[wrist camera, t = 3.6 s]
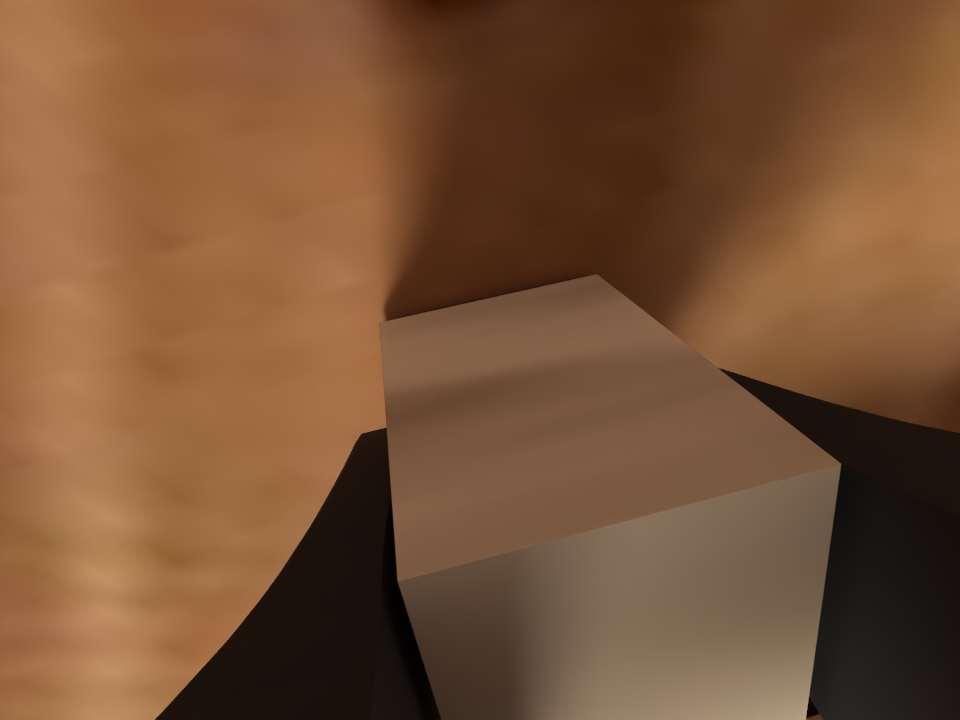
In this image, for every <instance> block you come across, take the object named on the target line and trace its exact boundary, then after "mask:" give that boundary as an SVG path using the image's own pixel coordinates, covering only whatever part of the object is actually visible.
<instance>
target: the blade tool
mask: <svg viewBox="0 0 960 720" xmlns="http://www.w3.org/2000/svg"><path fill="white" fill-rule="evenodd" d="M379 326H380V340H381V354H382V368H383V383H384V397H385V411H386V425H387V439H388V453H389V467H390V481H391V495H392V509H393V523H394V537H395V551H396V565H397V579H398V584H399V587H400V590H401V594H402V597H403V600H404V603H405V606H406V609H407V613H408V616H409V619H410V622H411V625H412V628H413V631H414V635H415V638H416V641H417V644H418V647H419V650H420V654H421V657H422V660H423V663H424V666H425V669H426V672H427V676H428V679H429V682H430V685H431V688H432V691H433V695H434V698H435V701H436V704H437V707H438V710H439V713H440V717H441V720H806V715H807V708H808V700H809V693H810V686H811V679H812V672H813V664H814V657H815V650H816V643H817V635H818V628H819V621H820V614H821V607H822V599H823V592H824V585H825V578H826V570H827V563H828V556H829V549H830V542H831V534H832V527H833V520H834V513H835V505H836V498H837V491H838V484H839V477H840V469H841V463H839V462H838V461H837V460H836V459H834V458H833V457H832V456H830V455H829V454H828V453H827V452H825V451H824V450H823V449H821V448H820V447H819V446H818V445H816V444H815V443H814V442H812V441H811V440H810V439H809V438H807V437H806V436H805V435H803V434H802V433H801V432H800V431H798V430H797V429H796V428H794V427H793V426H792V425H791V424H789V423H788V422H787V421H785V420H784V419H783V418H782V417H780V416H779V415H778V414H776V413H775V412H774V411H773V410H771V409H770V408H769V407H767V406H766V405H765V404H763V403H762V402H761V401H760V400H758V399H757V398H756V397H754V396H753V395H752V394H751V393H749V392H748V391H747V390H745V389H744V388H743V387H742V386H740V385H739V384H738V383H736V382H735V381H734V380H733V379H731V378H730V377H729V376H727V375H726V374H725V373H724V372H722V371H721V370H720V369H718V368H717V367H716V366H715V365H713V364H712V363H711V362H709V361H708V360H707V359H706V358H704V357H703V356H702V355H700V354H699V353H698V352H697V351H695V350H694V349H693V348H691V347H690V346H689V345H687V344H686V343H685V342H684V341H682V340H681V339H680V338H678V337H677V336H676V335H675V334H673V333H672V332H671V331H669V330H668V329H667V328H666V327H664V326H663V325H662V324H660V323H659V322H658V321H657V320H655V319H654V318H653V317H651V316H650V315H649V314H648V313H646V312H645V311H644V310H642V309H641V308H640V307H639V306H637V305H636V304H635V303H633V302H632V301H631V300H630V299H628V298H627V297H626V296H624V295H623V294H622V293H621V292H619V291H618V290H617V289H615V288H614V287H613V286H612V285H610V284H609V283H608V282H606V281H605V280H604V279H602V278H601V277H600V276H599V275H597V274H596V275H591V276H587V277H582V278H578V279H573V280H569V281H564V282H560V283H555V284H551V285H546V286H542V287H537V288H533V289H528V290H524V291H519V292H515V293H510V294H506V295H501V296H497V297H492V298H488V299H483V300H479V301H474V302H470V303H466V304H461V305H457V306H452V307H448V308H443V309H439V310H434V311H430V312H425V313H421V314H416V315H412V316H407V317H403V318H398V319H394V320H389V321H385V322H380V323H379Z"/></svg>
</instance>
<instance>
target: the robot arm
mask: <svg viewBox="0 0 960 720" xmlns="http://www.w3.org/2000/svg"><path fill="white" fill-rule="evenodd" d="M718 369H720V368H718ZM720 370H721V371H722V372H724V373H725V374H726V375H727V376H729V377H730V378H731V379H733V380H734V381H735V382H736V383H738V384H739V385H740V386H742V387H743V388H744V389H745V390H747V391H748V392H749V393H751V394H752V395H753V396H754V397H756V398H757V399H758V400H760V401H761V402H762V403H763V404H765V405H766V406H767V407H769V408H770V409H771V410H773V411H774V412H775V413H776V414H778V415H779V416H780V417H782V418H783V419H784V420H785V421H787V422H788V423H789V424H791V425H792V426H793V427H794V428H796V429H797V430H798V431H800V432H801V433H802V434H803V435H805V436H806V437H807V438H809V439H810V440H811V441H812V442H814V443H815V444H816V445H818V446H819V447H820V448H821V449H823V450H824V451H825V452H827V453H828V454H829V455H830V456H832V457H833V458H834V459H836V460H837V461H838V462H839V463H841V469H840V477H839V484H838V491H837V498H836V505H835V513H834V520H833V527H832V534H831V542H830V549H829V556H828V563H827V570H826V578H825V585H824V592H823V599H822V607H821V614H820V621H819V628H818V635H817V643H816V650H815V657H814V664H813V672H812V679H811V686H810V693H809V698H810V699H811V701H812V703H813V704H814V706H815V707H816V709H817V711H818V712H819V714H820V715H821V717H822V718H823V720H960V433H956V432H951V431H946V430H941V429H936V428H931V427H926V426H921V425H916V424H912V423H908V422H903V421H899V420H895V419H890V418H886V417H882V416H879V415H875V414H871V413H867V412H863V411H860V410H856V409H852V408H848V407H845V406H841V405H837V404H833V403H830V402H826V401H823V400H820V399H816V398H813V397H809V396H806V395H803V394H799V393H796V392H793V391H790V390H786V389H783V388H780V387H777V386H773V385H770V384H767V383H764V382H761V381H758V380H755V379H751V378H748V377H745V376H742V375H739V374H736V373H733V372H730V371H726V370H723V369H720ZM155 720H441V717H440V713H439V710H438V707H437V704H436V701H435V698H434V695H433V691H432V688H431V685H430V682H429V679H428V676H427V672H426V669H425V666H424V663H423V660H422V657H421V654H420V650H419V647H418V644H417V641H416V638H415V635H414V631H413V628H412V625H411V622H410V619H409V616H408V613H407V609H406V606H405V603H404V600H403V597H402V594H401V590H400V587H399V584H398V579H397V565H396V551H395V537H394V523H393V509H392V495H391V481H390V467H389V453H388V439H387V428H384V429H379V430H375V431H371V432H367V433H363V434H361V435H360V437H359V438H358V440H357V441H356V443H355V445H354V447H353V449H352V451H351V453H350V455H349V457H348V459H347V461H346V463H345V465H344V467H343V469H342V471H341V473H340V475H339V477H338V479H337V480H336V482H335V484H334V486H333V488H332V490H331V491H330V493H329V495H328V497H327V498H326V500H325V502H324V504H323V505H322V507H321V509H320V511H319V512H318V514H317V516H316V518H315V519H314V521H313V523H312V524H311V526H310V528H309V529H308V531H307V532H306V534H305V535H304V537H303V539H302V540H301V542H300V543H299V545H298V546H297V548H296V549H295V551H294V552H293V554H292V555H291V557H290V558H289V560H288V561H287V563H286V564H285V566H284V567H283V569H282V571H281V572H280V573H279V575H278V576H277V578H276V579H275V580H274V582H273V583H272V585H271V586H270V587H269V589H268V590H267V591H266V593H265V594H264V596H263V597H262V598H261V600H260V601H259V602H258V603H257V605H256V606H255V607H254V608H253V610H252V611H251V612H250V613H249V615H248V616H247V617H246V618H245V620H244V621H243V622H242V623H241V625H240V626H239V627H238V628H237V630H236V631H235V632H234V633H233V634H232V636H231V637H230V638H229V639H228V640H227V642H226V643H225V644H224V645H223V646H222V647H221V648H220V649H219V651H218V652H217V653H216V654H215V655H214V656H213V657H212V658H211V659H210V660H209V662H208V663H207V664H206V665H205V666H204V667H203V668H202V669H201V670H200V671H199V672H198V674H197V675H196V676H195V677H194V678H193V679H192V680H191V681H190V682H189V683H188V685H187V686H186V687H185V688H184V689H183V690H182V691H181V692H180V693H179V694H178V696H177V697H176V698H175V699H174V700H173V701H172V702H171V703H170V704H169V705H168V706H167V708H166V709H165V710H164V711H163V712H162V713H161V714H160V715H159V716H158V717H157V718H156V719H155Z"/></svg>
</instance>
